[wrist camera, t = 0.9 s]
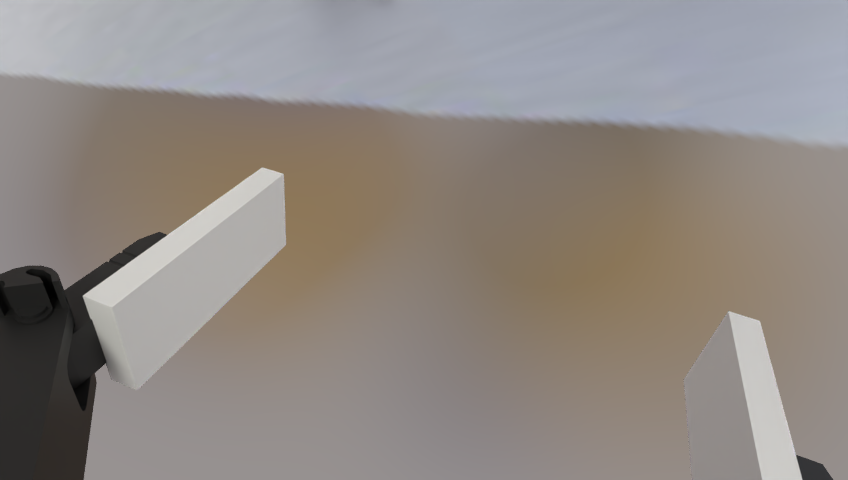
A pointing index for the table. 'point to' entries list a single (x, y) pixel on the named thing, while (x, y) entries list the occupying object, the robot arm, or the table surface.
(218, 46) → the table surface
